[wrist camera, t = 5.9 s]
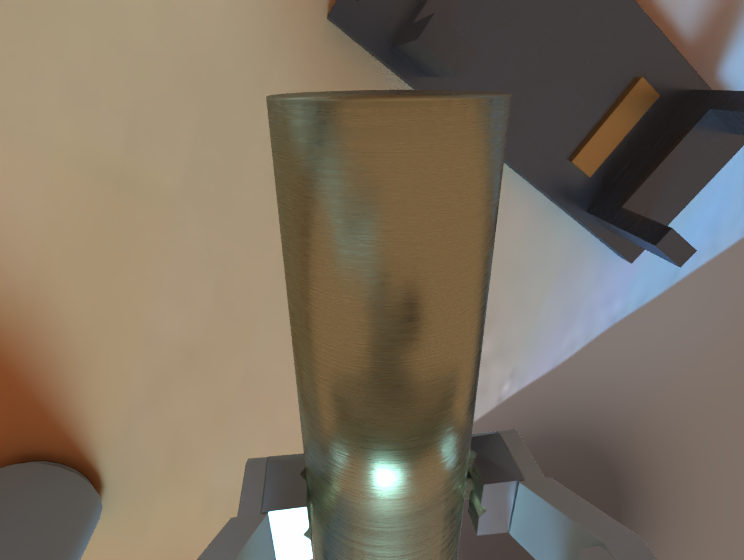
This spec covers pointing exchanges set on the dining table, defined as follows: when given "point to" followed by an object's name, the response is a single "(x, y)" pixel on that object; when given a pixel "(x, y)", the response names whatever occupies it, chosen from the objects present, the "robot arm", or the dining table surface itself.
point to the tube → (387, 304)
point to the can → (46, 512)
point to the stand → (572, 102)
